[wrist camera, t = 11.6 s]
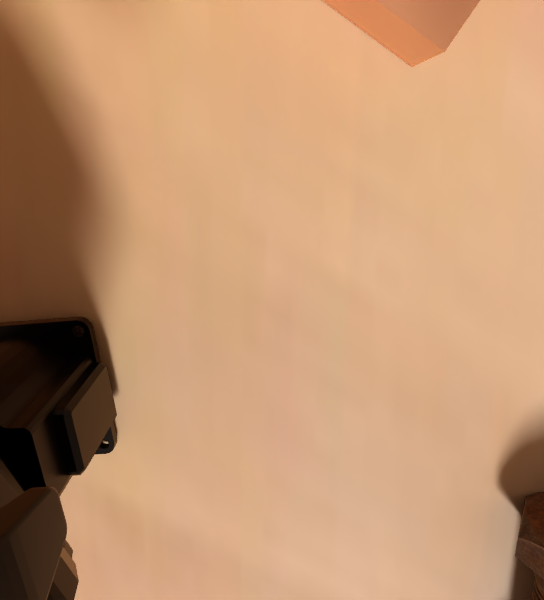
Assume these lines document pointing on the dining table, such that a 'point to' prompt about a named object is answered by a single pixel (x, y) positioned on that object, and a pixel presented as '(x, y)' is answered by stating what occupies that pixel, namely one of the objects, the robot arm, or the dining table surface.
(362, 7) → the socket block
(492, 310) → the dining table surface
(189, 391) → the dining table surface
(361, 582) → the dining table surface
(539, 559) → the bolt
